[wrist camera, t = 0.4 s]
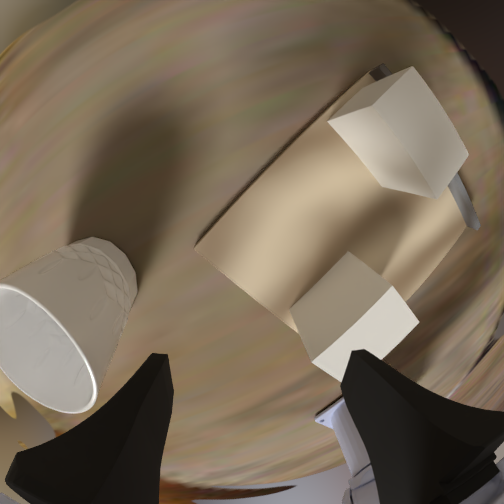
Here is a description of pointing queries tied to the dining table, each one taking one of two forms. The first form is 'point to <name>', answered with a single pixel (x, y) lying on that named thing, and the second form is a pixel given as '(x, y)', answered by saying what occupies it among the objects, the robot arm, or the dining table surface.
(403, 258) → the shelf board
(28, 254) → the dining table surface
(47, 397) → the white cup
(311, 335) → the carton
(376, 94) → the faced carton
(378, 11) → the dining table surface
